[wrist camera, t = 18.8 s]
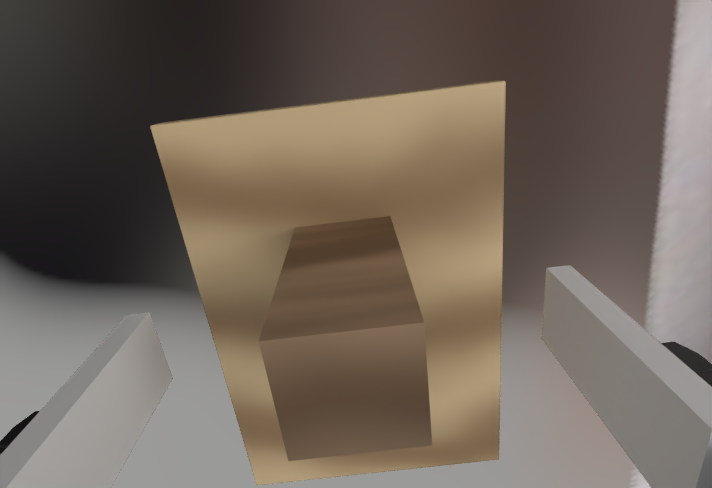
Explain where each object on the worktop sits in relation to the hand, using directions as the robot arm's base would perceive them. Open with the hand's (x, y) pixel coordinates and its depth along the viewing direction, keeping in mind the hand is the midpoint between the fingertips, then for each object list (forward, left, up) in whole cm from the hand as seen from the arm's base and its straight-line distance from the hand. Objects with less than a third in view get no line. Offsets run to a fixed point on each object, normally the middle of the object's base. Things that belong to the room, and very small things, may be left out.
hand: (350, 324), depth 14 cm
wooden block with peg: (+3, 0, -6) cm, 6 cm away
